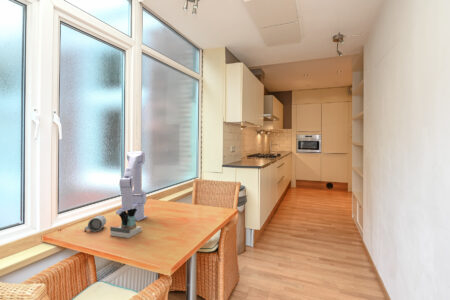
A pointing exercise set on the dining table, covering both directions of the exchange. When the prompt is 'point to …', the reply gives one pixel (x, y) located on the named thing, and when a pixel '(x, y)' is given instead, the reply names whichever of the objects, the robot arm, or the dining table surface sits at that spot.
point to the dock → (124, 231)
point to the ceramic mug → (96, 223)
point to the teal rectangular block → (130, 223)
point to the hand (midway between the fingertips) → (128, 223)
